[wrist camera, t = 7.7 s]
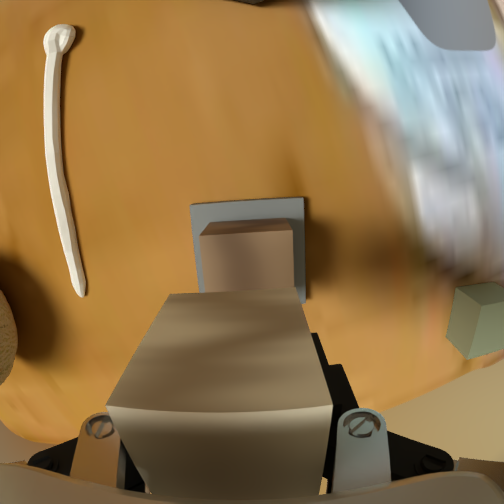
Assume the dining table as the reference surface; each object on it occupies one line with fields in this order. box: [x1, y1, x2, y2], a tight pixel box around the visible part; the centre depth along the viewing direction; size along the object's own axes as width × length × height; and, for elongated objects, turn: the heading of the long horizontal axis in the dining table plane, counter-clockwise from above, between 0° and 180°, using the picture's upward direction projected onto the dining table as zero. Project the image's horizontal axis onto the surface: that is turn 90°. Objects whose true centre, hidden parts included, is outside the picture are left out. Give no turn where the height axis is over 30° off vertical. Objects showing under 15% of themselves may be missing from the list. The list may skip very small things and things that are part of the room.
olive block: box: [446, 282, 504, 360], centre depth 26 cm, size 6×6×5 cm
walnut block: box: [199, 218, 294, 293], centre depth 23 cm, size 6×6×5 cm
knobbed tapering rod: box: [43, 24, 86, 297], centre depth 23 cm, size 28×4×3 cm, turn 6°
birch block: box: [105, 287, 333, 500], centre depth 9 cm, size 4×6×6 cm
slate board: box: [190, 197, 306, 304], centre depth 26 cm, size 9×9×1 cm
